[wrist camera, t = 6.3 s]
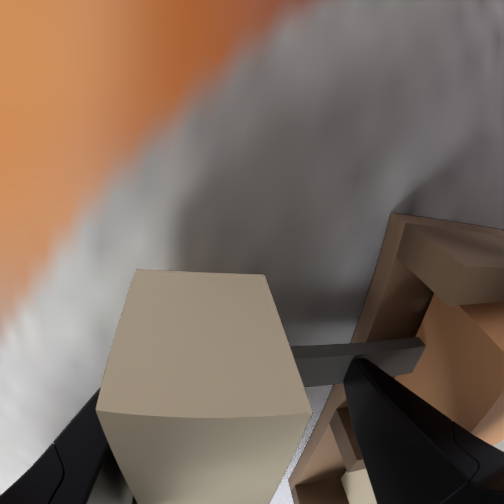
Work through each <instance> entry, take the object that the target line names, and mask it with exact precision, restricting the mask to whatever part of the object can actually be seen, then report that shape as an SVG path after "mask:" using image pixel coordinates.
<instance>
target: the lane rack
mask: <svg viewBox="0 0 504 504" xmlns="http://www.w3.org/2000/svg"><path fill="white" fill-rule="evenodd" d="M434 293H435V294H436V295H437V296H438V297H439V298H440V299H441V300H442V301H443V302H444V303H445V304H446V305H447V306H457V305H470V304H481V303H491V302H501V301H504V230H501V229H495V228H489V227H484V226H478V225H472V224H466V223H459V222H453V221H446V220H440V219H433V218H426V217H419V216H412V215H405V214H397V213H391V215H390V219H389V223H388V227H387V231H386V234H385V238H384V242H383V245H382V249H381V252H380V256H379V259H378V263H377V266H376V269H375V273H374V276H373V279H372V282H371V285H370V289H369V292H368V295H367V298H366V301H365V304H364V307H363V310H362V313H361V315H360V318H359V321H358V324H357V327H356V330H355V332H354V335H353V338H352V340H351V343H363V342H375V341H385V340H395V339H405V338H413V337H415V336H416V334H417V332H418V330H419V328H420V326H421V323H422V321H423V319H424V316H425V314H426V312H427V310H428V307H429V305H430V302H431V300H432V297H433V295H434ZM391 377H393V378H395V376H391ZM362 469H366V467H365V464H364V461H363V458H362V455H361V452H360V449H359V446H358V443H357V440H356V437H355V434H354V431H353V427H352V423H351V418H350V414H349V409H348V404H347V400H346V395H345V390H344V386H343V383H341V384H334V386H333V388H332V391H331V393H330V395H329V398H328V400H327V402H326V404H325V407H324V409H323V411H322V413H321V416H320V418H319V420H318V422H317V424H316V426H315V428H314V431H313V433H312V435H311V437H310V439H309V441H308V443H307V445H306V447H305V449H304V451H303V453H302V455H301V457H300V459H299V461H298V463H297V465H296V467H295V469H294V471H293V472H292V474H291V476H290V478H289V480H288V481H289V485H290V489H291V493H292V497H293V501H294V504H349V501H348V498H347V496H346V493H345V490H344V487H343V484H342V481H341V477H342V476H343V475H344V473H345V472H346V471H347V472H348V473H349V472H354V471H358V470H362Z"/></svg>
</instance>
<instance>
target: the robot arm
mask: <svg viewBox="0 0 504 504" xmlns="http://www.w3.org/2000/svg"><path fill="white" fill-rule="evenodd" d="M343 386H344V390H345V395H346V400H347V404H348V409H349V414H350V418H351V423H352V427H353V431H354V434H355V437H356V440H357V443H358V446H359V449H360V452H361V455H362V458H363V461H364V464H365V467H366V470H367V474H368V477H369V480H370V483H371V486H372V489H373V493H374V496H375V499H376V502H377V504H504V452H503V451H501V450H499V449H498V448H496V447H494V446H492V445H490V444H489V443H487V442H485V441H483V440H482V439H480V438H478V437H477V436H475V435H473V434H472V433H470V432H469V431H467V430H466V429H464V428H463V427H461V426H460V425H458V424H457V423H456V422H454V421H451V419H450V418H448V417H447V416H446V415H444V414H443V413H441V412H440V411H439V410H437V409H436V408H434V407H433V406H432V405H430V404H429V403H427V402H426V401H425V400H423V399H422V398H420V397H419V396H418V395H416V394H415V393H413V392H412V391H411V390H409V389H408V388H406V387H405V386H404V385H402V384H401V383H400V382H398V381H397V380H395V379H394V378H393V377H391V376H390V375H389V374H387V373H386V372H384V371H383V370H382V369H380V368H379V367H378V366H376V365H375V364H373V363H372V362H371V361H369V360H368V359H366V358H356V359H353V360H352V361H351V362H350V365H349V367H348V369H347V372H346V374H345V377H344V379H343ZM100 389H101V387H100V388H99V389H98V391H97V392H96V393H95V394H94V395H93V396H92V397H91V399H90V400H89V401H88V402H87V403H86V404H85V406H84V407H83V408H82V409H81V410H80V411H79V412H78V414H77V415H76V416H75V417H74V418H73V419H72V421H71V422H70V423H69V424H68V425H67V426H66V428H65V429H64V430H63V431H62V432H61V433H60V435H59V436H58V437H57V438H56V439H55V441H54V444H53V443H52V444H51V445H50V446H49V447H48V449H47V450H46V451H45V452H44V453H43V454H42V456H41V457H40V458H39V459H38V460H37V461H36V462H35V463H34V464H33V466H32V467H31V468H30V469H28V470H27V471H26V472H25V473H24V474H23V475H22V476H21V477H20V478H19V479H18V480H17V481H16V482H15V483H14V484H13V485H12V486H10V487H9V488H8V489H7V490H6V491H5V492H4V493H3V494H2V495H1V496H0V504H138V503H137V501H136V500H135V498H134V496H133V494H132V492H131V490H130V488H129V486H128V484H127V482H126V480H125V478H124V476H123V474H122V472H121V470H120V468H119V465H118V463H117V461H116V459H115V457H114V454H113V452H112V450H111V448H110V445H109V443H108V441H107V438H106V436H105V433H104V431H103V428H102V426H101V423H100V421H99V418H98V415H97V413H96V406H97V402H98V397H99V393H100Z"/></svg>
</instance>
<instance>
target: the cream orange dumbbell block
mask: <svg viewBox="0 0 504 504" xmlns="http://www.w3.org/2000/svg"><path fill="white" fill-rule="evenodd" d="M356 358H366V359H368V360H369V361H371V362H372V363H373V364H375V365H376V366H378V367H379V368H380V369H382V370H383V371H384V372H386V373H387V374H389V375H390V376H395V378H394V379H395V380H397V381H398V382H400V383H401V384H402V385H404V386H405V387H406V388H408V389H409V390H411V391H412V392H413V393H415V394H416V395H418V396H419V397H420V398H422V399H423V400H425V401H426V402H427V403H429V404H430V405H432V406H433V407H434V408H436V409H437V410H439V411H440V412H441V413H443V414H444V415H446V416H447V417H448V418H450V419H451V421H454V422H456V423H457V424H458V425H460V426H461V427H463V428H464V429H466V430H467V431H469V432H470V433H472V434H473V435H475V436H477V437H478V438H480V439H482V440H483V441H485V442H487V443H489V444H490V445H492V446H494V445H495V444H497V443H499V442H501V441H502V440H504V301H501V302H491V303H481V304H470V305H457V306H447V305H446V304H445V303H444V302H443V301H442V300H441V299H440V298H439V297H438V296H437V295H436V294H435V293H434V295H433V297H432V300H431V302H430V305H429V307H428V310H427V312H426V314H425V316H424V319H423V321H422V323H421V326H420V328H419V330H418V332H417V334H416V336H415V337H413V338H405V339H395V340H385V341H375V342H363V343H350V344H334V345H316V346H291V347H290V346H289V343H288V340H287V337H286V334H285V331H284V329H283V326H282V323H281V320H280V317H279V314H278V311H277V309H276V306H275V303H274V300H273V297H272V294H271V291H270V289H269V286H268V283H267V280H266V277H265V275H261V274H233V273H207V272H184V271H163V270H143V269H136V271H135V274H134V277H133V280H132V283H131V286H130V289H129V292H128V295H127V298H126V301H125V304H124V307H123V310H122V314H121V317H120V320H119V323H118V327H117V330H116V334H115V337H114V340H113V344H112V347H111V351H110V355H109V358H108V362H107V366H106V369H105V373H104V377H103V381H102V385H101V389H100V393H99V397H98V402H97V406H96V413H97V415H98V418H99V421H100V423H101V426H102V428H103V431H104V433H105V436H106V438H107V441H108V443H109V445H110V448H111V450H112V452H113V454H114V457H115V459H116V461H117V463H118V465H119V468H120V470H121V472H122V474H123V476H124V478H125V480H126V482H127V484H128V486H129V488H130V490H131V492H132V494H133V496H134V498H135V500H136V501H137V503H138V504H269V503H270V501H271V499H272V498H273V496H274V494H275V492H276V490H277V488H278V486H279V484H280V482H281V480H282V478H283V476H284V474H285V472H286V470H287V468H288V466H289V464H290V462H291V460H292V458H293V455H294V453H295V451H296V449H297V447H298V445H299V442H300V440H301V438H302V436H303V434H304V431H305V429H306V427H307V425H308V422H309V420H310V418H311V415H312V413H313V412H312V409H311V406H310V403H309V400H308V397H307V394H306V392H305V389H304V387H311V386H322V385H332V384H341V383H343V379H344V377H345V374H346V372H347V369H348V367H349V365H350V362H351V361H352V360H353V359H356Z"/></svg>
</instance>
